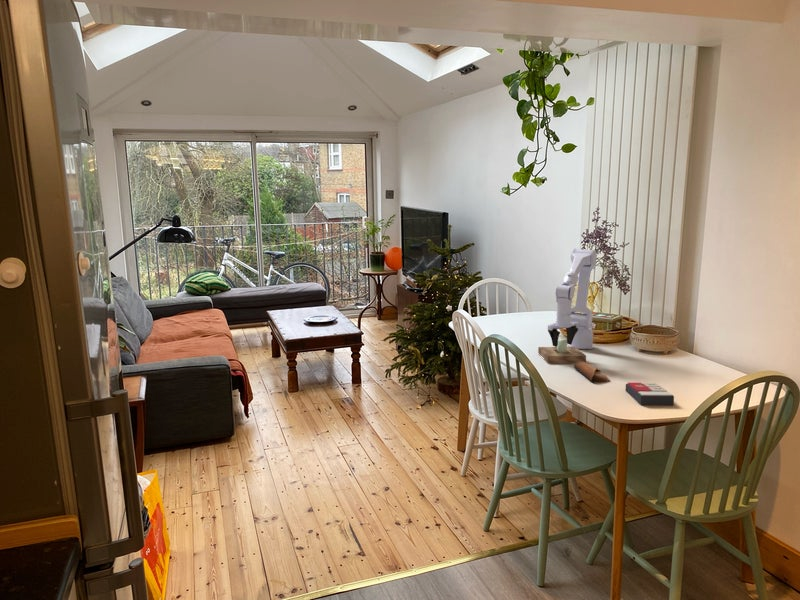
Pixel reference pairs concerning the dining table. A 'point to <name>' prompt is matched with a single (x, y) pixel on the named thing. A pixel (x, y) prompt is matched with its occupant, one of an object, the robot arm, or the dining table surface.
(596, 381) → the brown pointed cylinder
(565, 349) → the peg
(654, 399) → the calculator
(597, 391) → the dining table surface
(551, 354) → the peg board
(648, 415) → the dining table surface
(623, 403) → the dining table surface
